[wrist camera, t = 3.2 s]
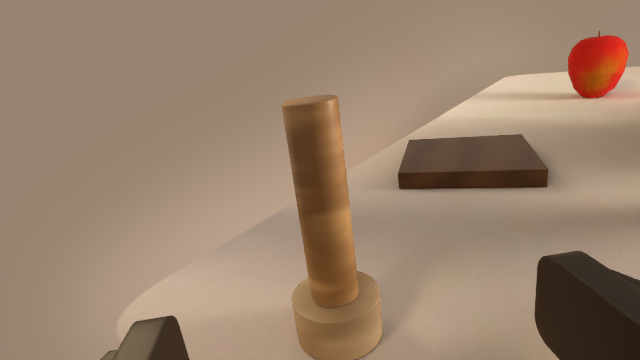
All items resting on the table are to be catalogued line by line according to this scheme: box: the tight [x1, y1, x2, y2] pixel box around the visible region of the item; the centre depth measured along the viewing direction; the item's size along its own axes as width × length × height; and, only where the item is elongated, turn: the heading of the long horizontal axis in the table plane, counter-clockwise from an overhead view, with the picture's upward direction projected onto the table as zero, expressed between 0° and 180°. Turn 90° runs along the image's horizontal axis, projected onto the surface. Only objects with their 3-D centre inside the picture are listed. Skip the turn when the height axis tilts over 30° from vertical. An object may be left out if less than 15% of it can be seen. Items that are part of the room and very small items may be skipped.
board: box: [398, 134, 548, 189], centre depth 45 cm, size 14×14×2 cm
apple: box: [568, 31, 629, 98], centre depth 72 cm, size 9×9×12 cm
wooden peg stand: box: [282, 95, 383, 360], centre depth 20 cm, size 5×5×13 cm
